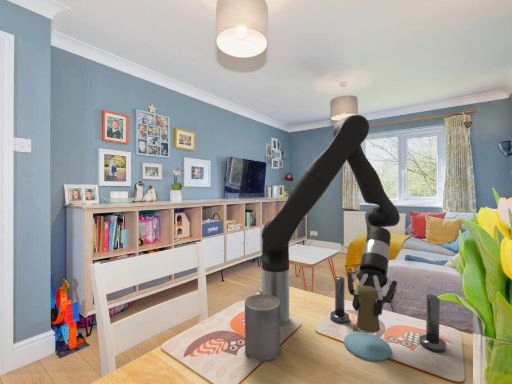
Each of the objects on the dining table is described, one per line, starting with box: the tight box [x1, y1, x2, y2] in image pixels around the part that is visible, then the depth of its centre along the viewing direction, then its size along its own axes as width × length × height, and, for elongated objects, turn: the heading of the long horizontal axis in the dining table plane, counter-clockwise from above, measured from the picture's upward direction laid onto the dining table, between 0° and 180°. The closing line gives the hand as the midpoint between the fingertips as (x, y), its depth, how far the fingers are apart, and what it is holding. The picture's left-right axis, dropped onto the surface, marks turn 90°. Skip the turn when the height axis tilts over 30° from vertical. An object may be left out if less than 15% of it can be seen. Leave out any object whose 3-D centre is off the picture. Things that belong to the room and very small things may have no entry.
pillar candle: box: [244, 294, 281, 363], centre depth 71 cm, size 10×10×15 cm
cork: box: [356, 286, 381, 333], centre depth 73 cm, size 6×6×11 cm
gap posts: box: [330, 276, 447, 354], centre depth 81 cm, size 32×6×14 cm, turn 55°
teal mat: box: [343, 331, 392, 362], centre depth 73 cm, size 12×12×1 cm
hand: (366, 312), depth 71 cm, fingers closed on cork, 4 cm apart
